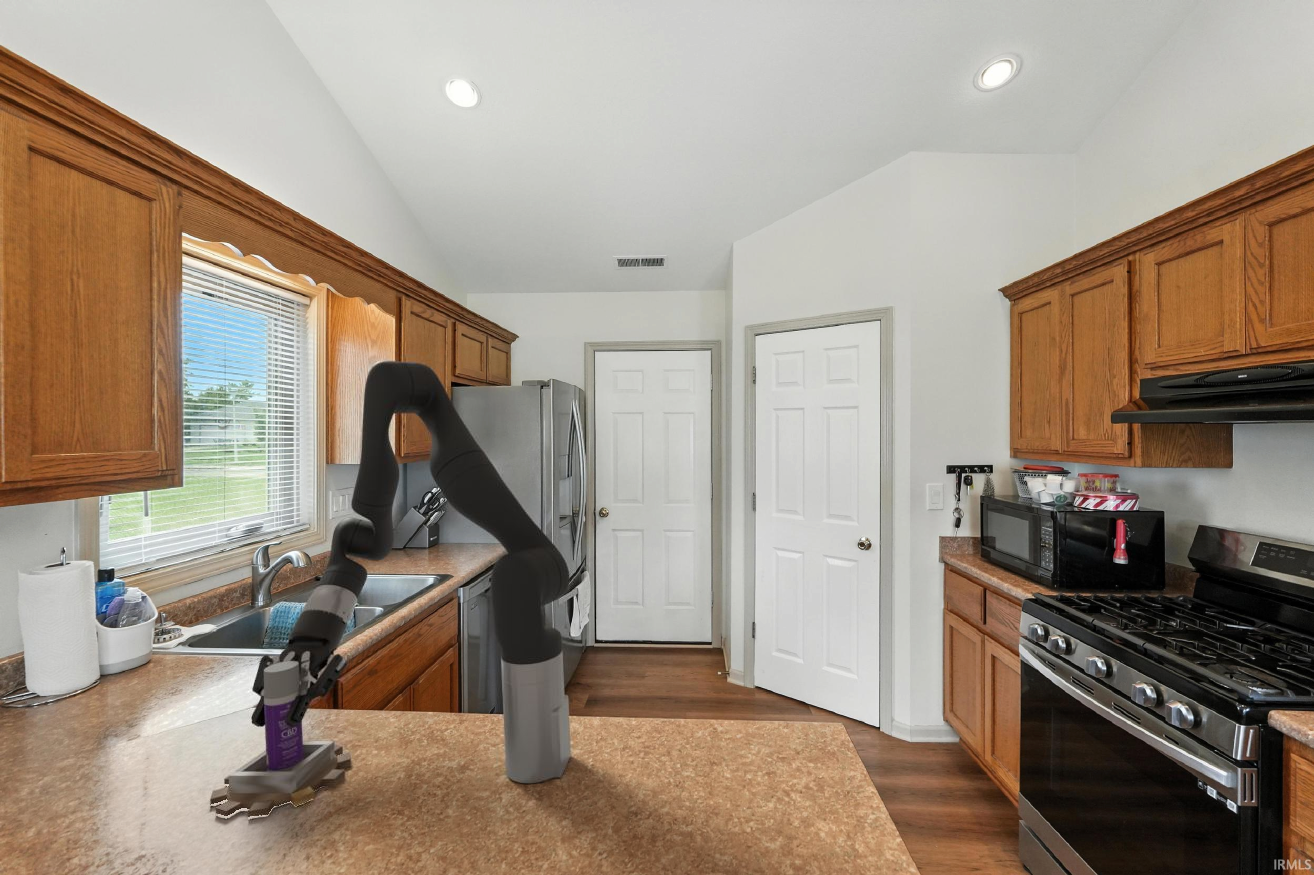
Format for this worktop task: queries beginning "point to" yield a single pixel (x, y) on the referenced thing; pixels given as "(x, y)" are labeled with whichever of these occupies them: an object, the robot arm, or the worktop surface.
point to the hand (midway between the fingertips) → (274, 724)
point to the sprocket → (282, 780)
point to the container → (281, 717)
